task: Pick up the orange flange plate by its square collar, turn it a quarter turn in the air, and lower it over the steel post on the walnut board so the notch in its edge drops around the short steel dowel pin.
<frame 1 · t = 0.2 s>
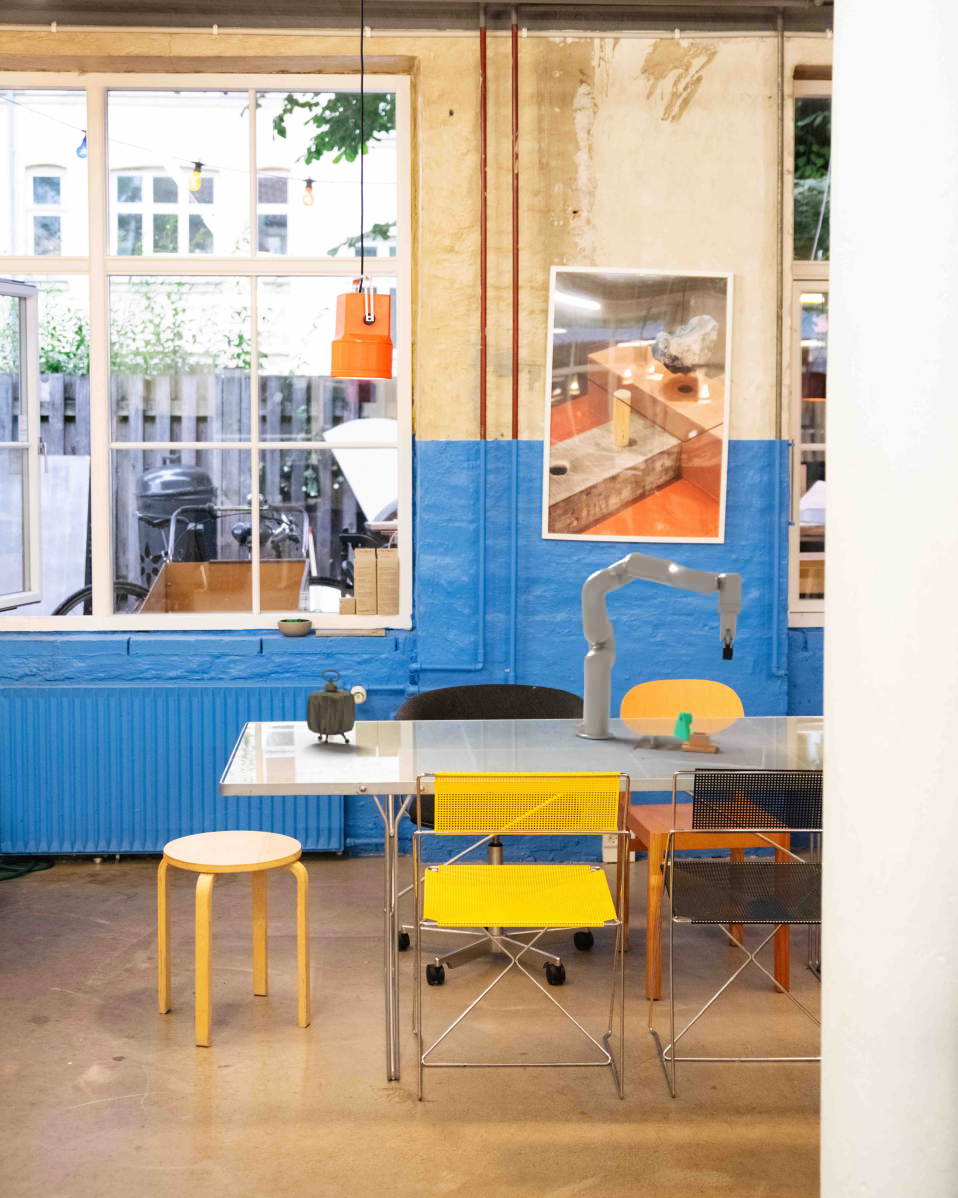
hand: (727, 658, 395), 31 cm above the table, tool pointing down, fingers open, 9 cm apart
board: (676, 750, 387), on the table
camera mount: (690, 741, 406), on the table
tabletop clock: (329, 744, 383), on the table
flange: (699, 749, 385), point 1 cm above the table, touching board
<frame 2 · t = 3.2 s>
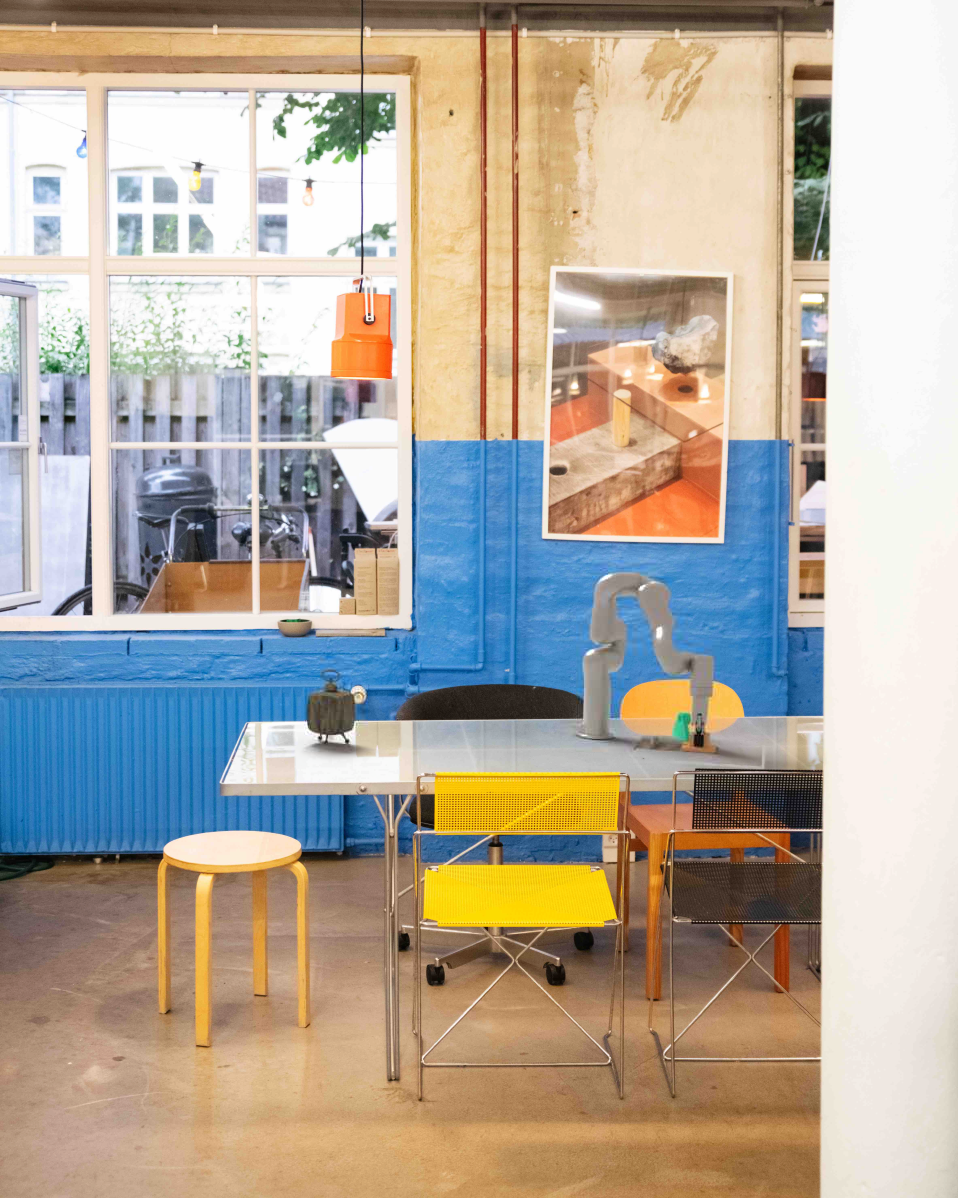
hand: (699, 744, 385), 3 cm above the table, tool pointing down, fingers closed on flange, 6 cm apart
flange: (699, 749, 385), point 1 cm above the table, touching board, gripper
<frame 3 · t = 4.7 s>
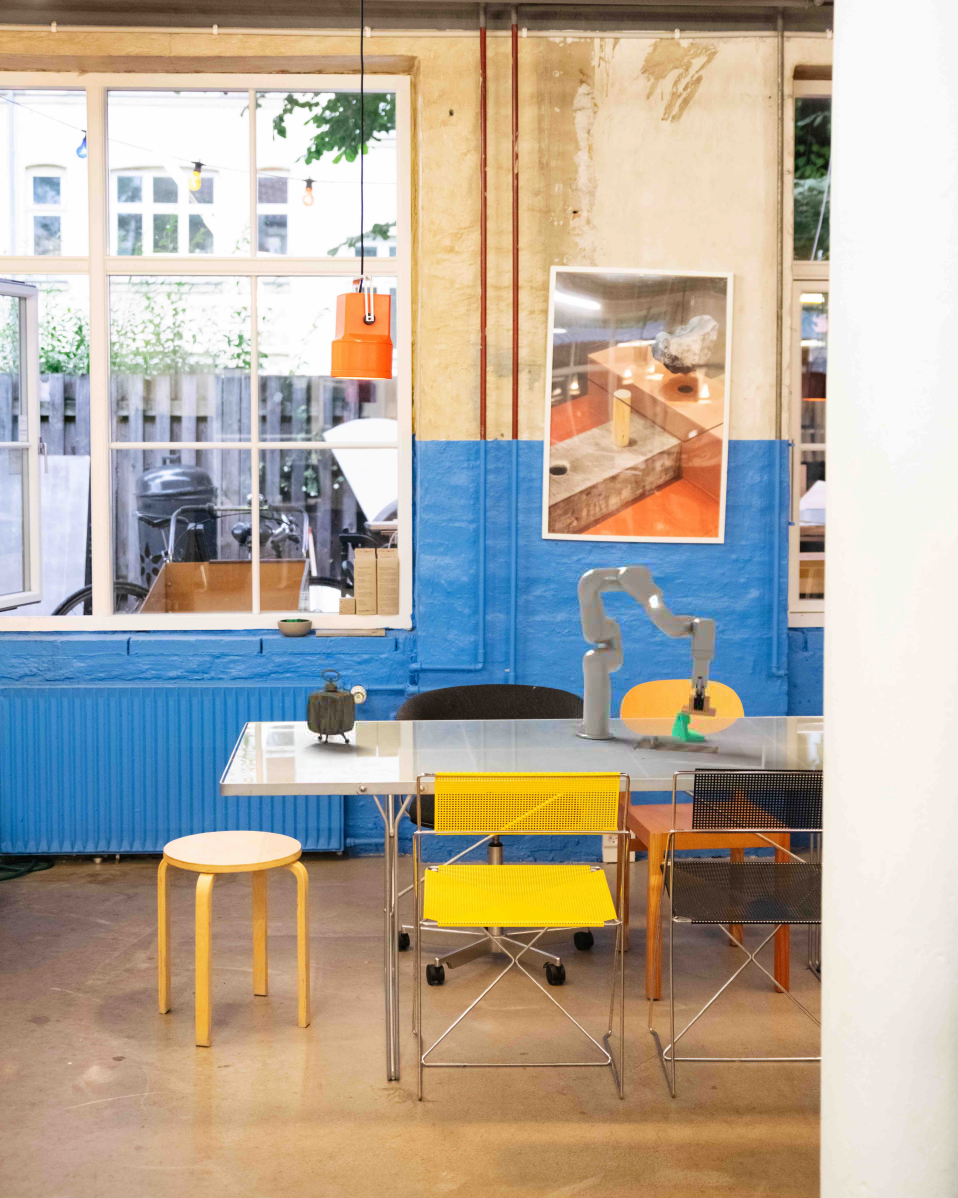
hand: (699, 707, 385), 15 cm above the table, tool pointing down, fingers closed on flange, 6 cm apart
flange: (698, 712, 385), point 13 cm above the table, touching gripper
everything else where it was.
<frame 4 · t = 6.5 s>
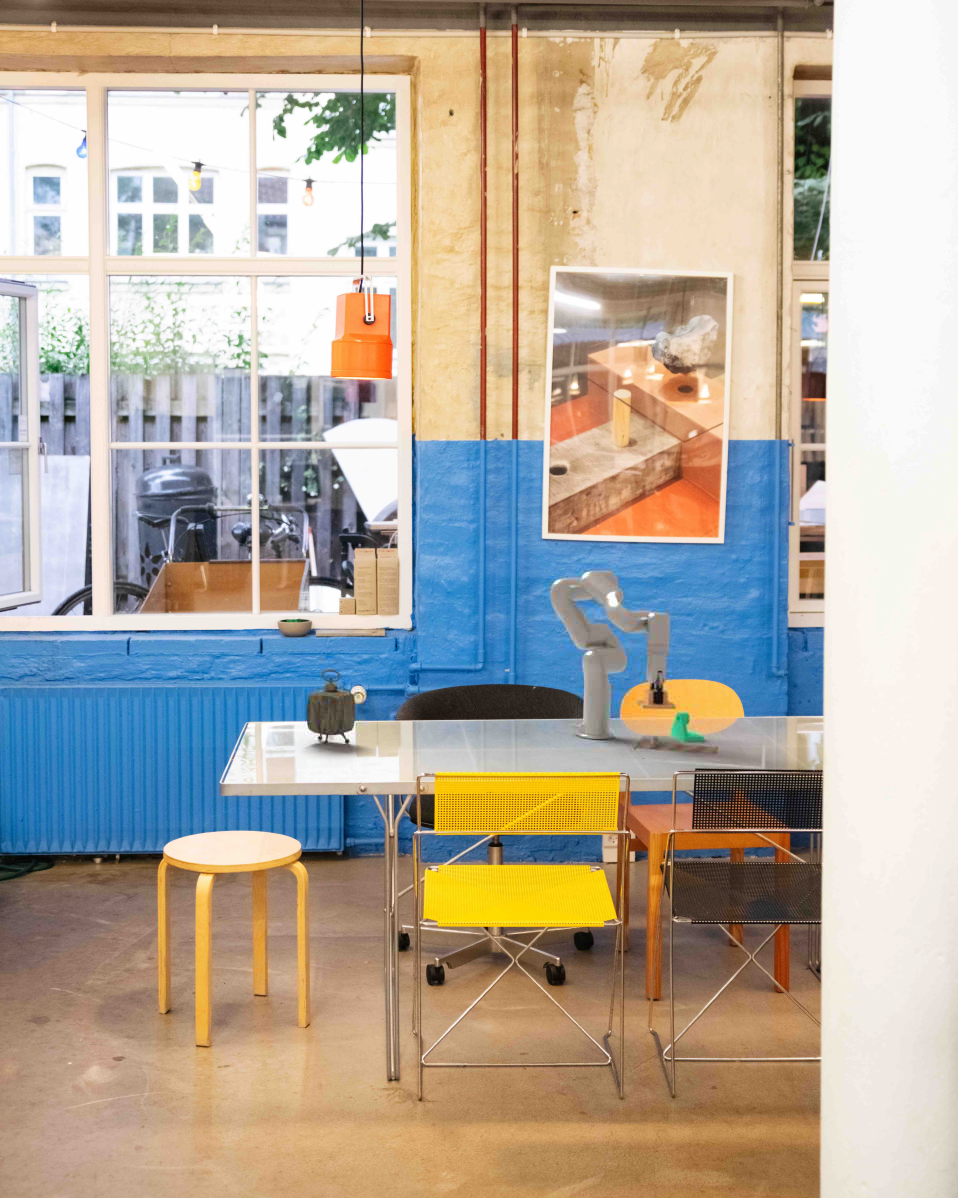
hand: (656, 701, 388), 16 cm above the table, tool pointing down, fingers closed on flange, 6 cm apart
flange: (655, 706, 388), point 15 cm above the table, touching gripper
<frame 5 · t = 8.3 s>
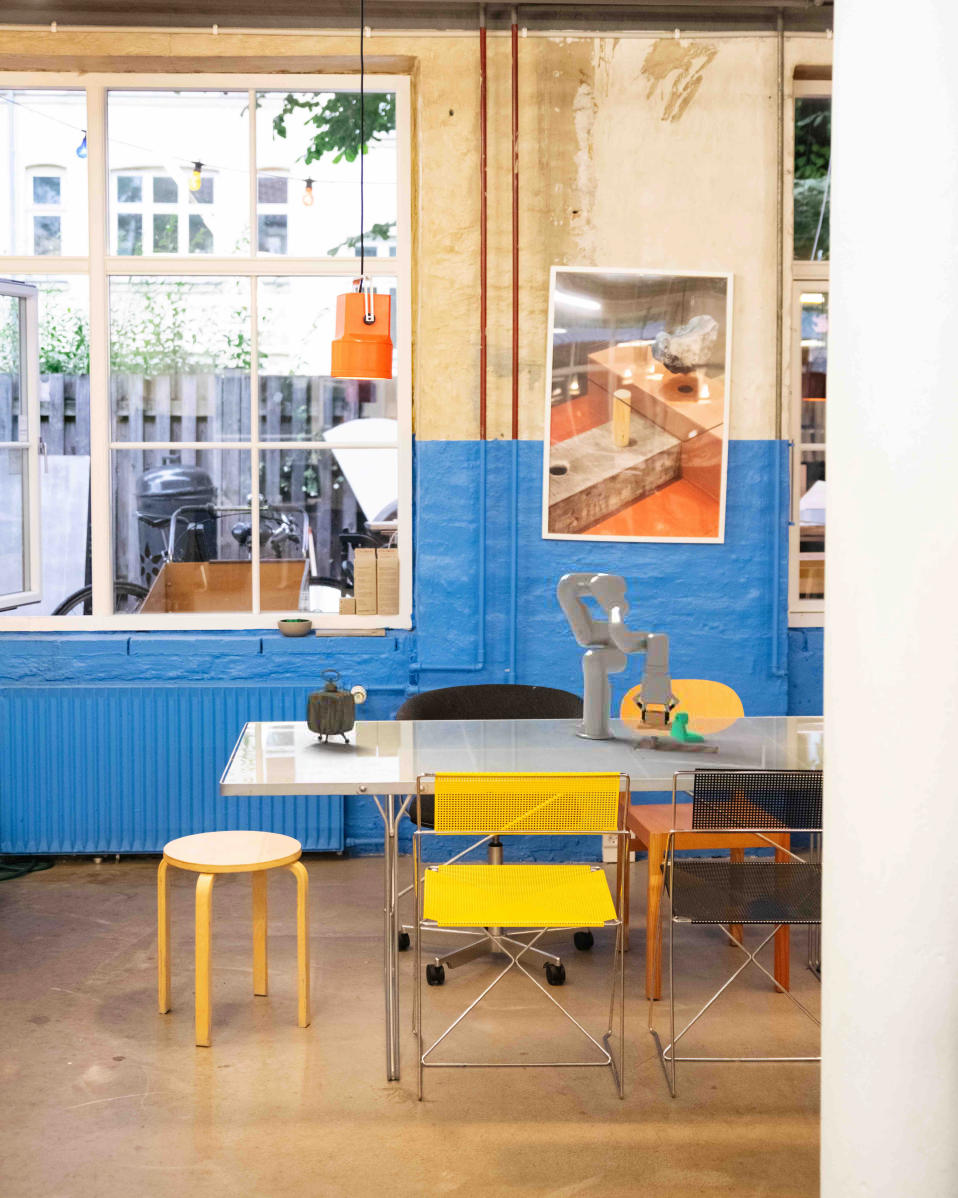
hand: (655, 722, 388), 9 cm above the table, tool pointing down, fingers closed on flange, 6 cm apart
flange: (655, 727, 388), point 7 cm above the table, touching gripper
when the fingers open (4 cm above the table, at t = 9.9 s): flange stays where it is, resting on board.
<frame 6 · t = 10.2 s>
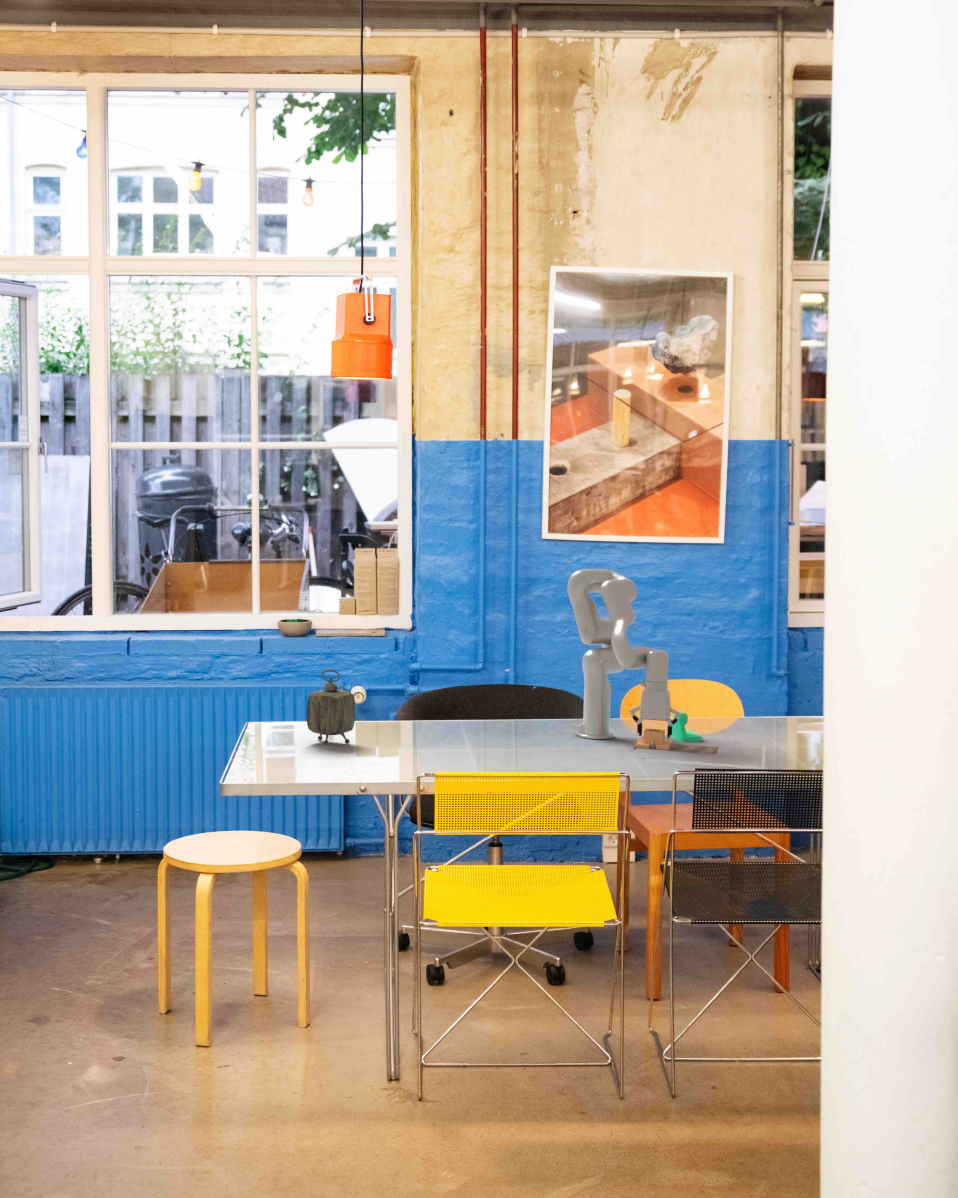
hand: (654, 736, 389), 4 cm above the table, tool pointing down, fingers open, 9 cm apart
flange: (653, 745, 389), point 1 cm above the table, touching board
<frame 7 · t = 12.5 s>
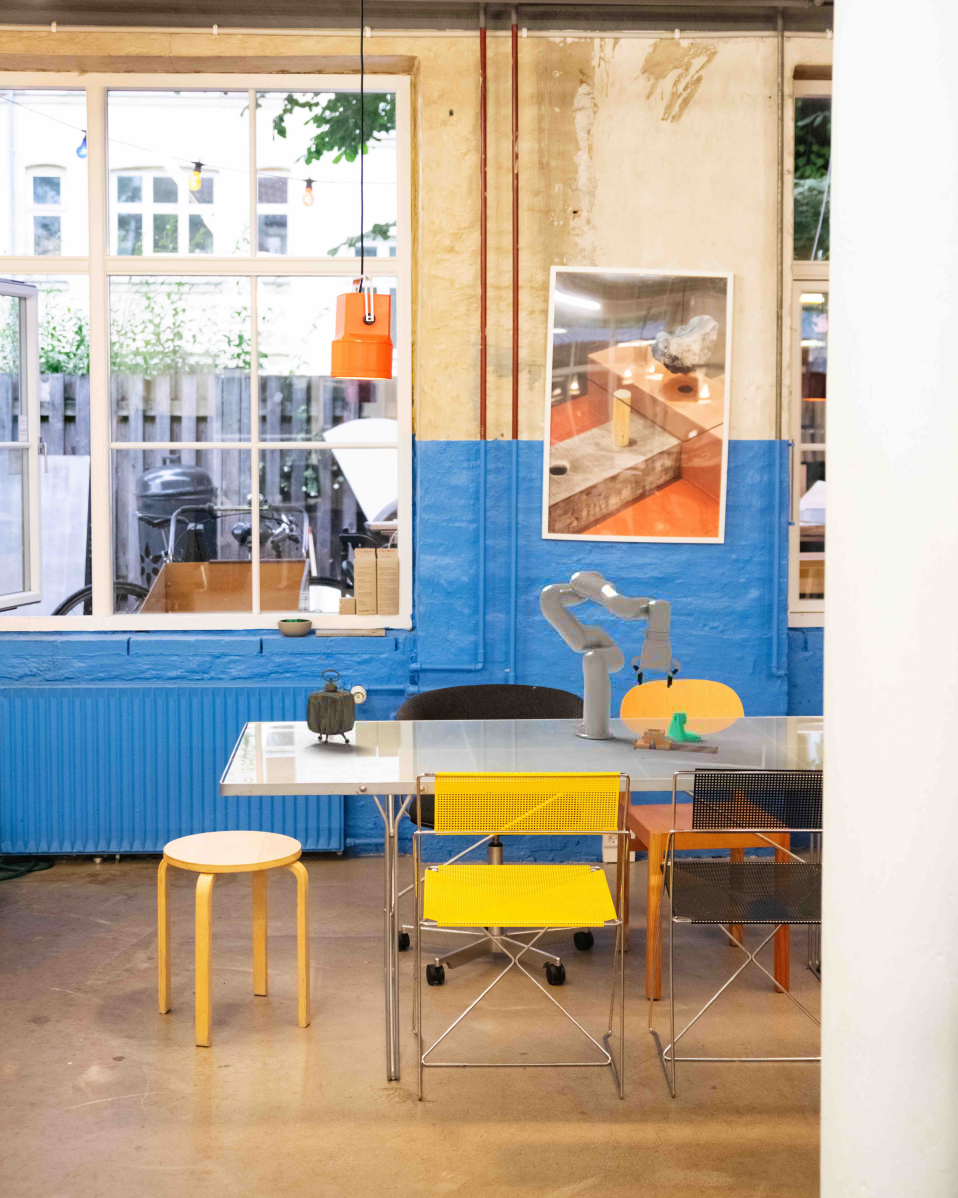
hand: (654, 686, 392), 21 cm above the table, tool pointing down, fingers open, 9 cm apart
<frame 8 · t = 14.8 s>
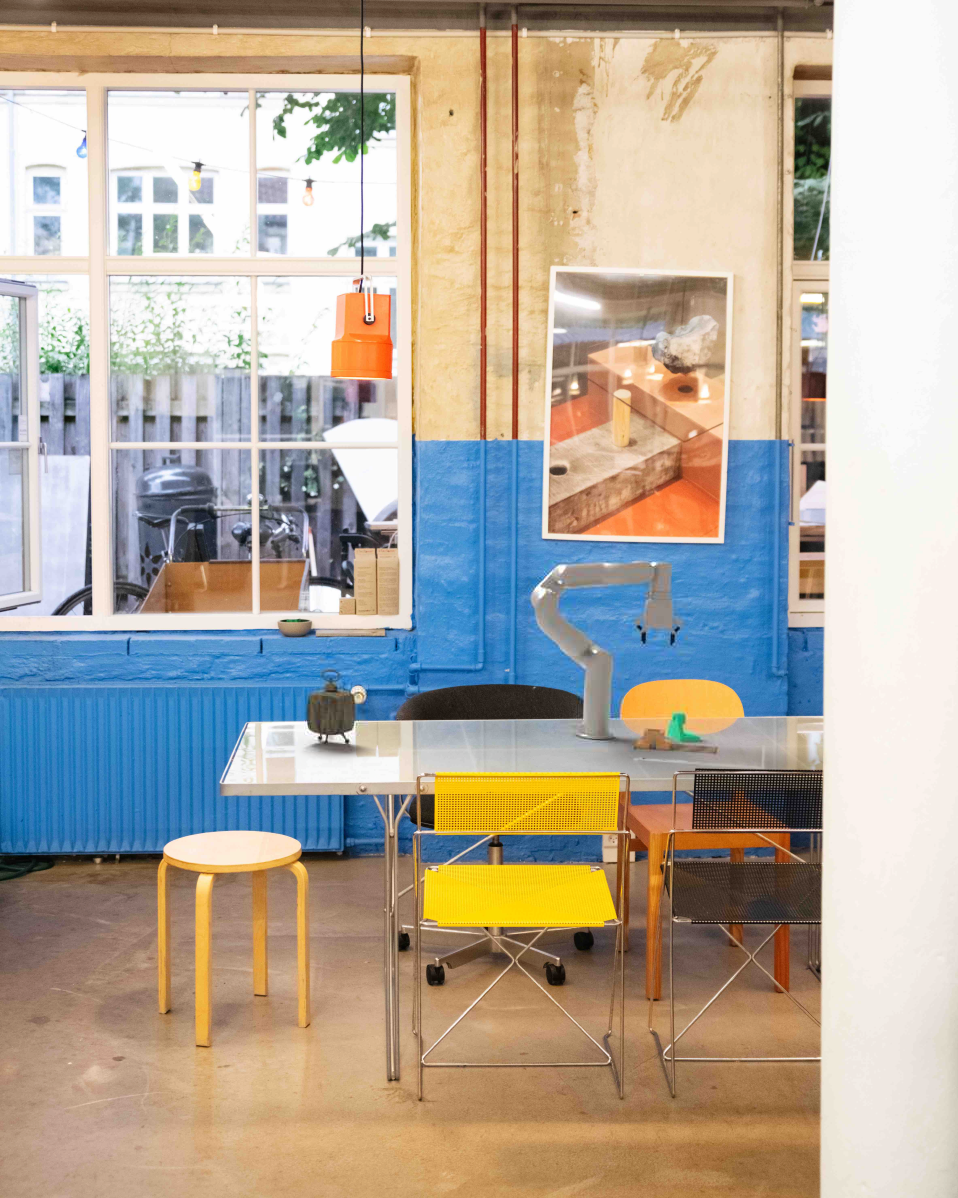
hand: (657, 644, 410), 33 cm above the table, tool pointing down, fingers open, 9 cm apart
at the end: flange 0.1 cm from the target spot on the board, point 1.0 cm above the board's base; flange tilted 0°; the gripper is holding nothing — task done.
